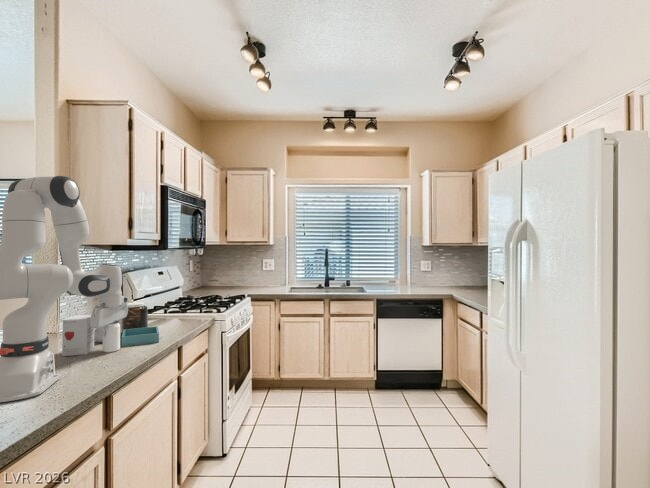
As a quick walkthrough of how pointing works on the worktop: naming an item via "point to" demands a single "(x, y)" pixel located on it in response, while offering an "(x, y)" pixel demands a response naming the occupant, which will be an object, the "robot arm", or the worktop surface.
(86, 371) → the worktop surface
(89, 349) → the supplement box
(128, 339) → the bin
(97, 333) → the perfume bottle
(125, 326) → the jar
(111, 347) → the can
